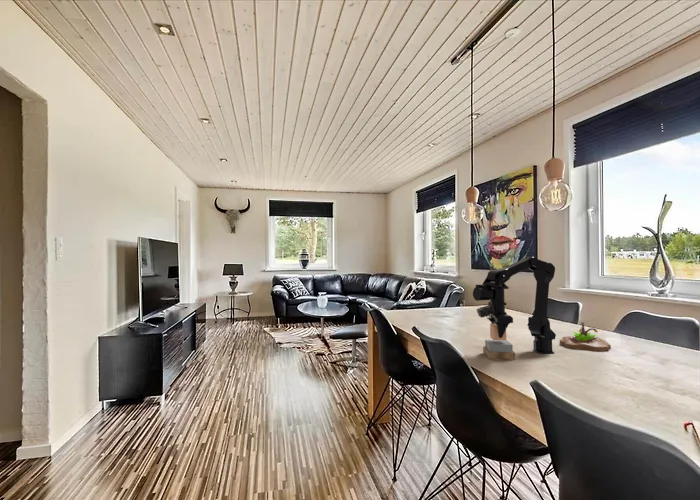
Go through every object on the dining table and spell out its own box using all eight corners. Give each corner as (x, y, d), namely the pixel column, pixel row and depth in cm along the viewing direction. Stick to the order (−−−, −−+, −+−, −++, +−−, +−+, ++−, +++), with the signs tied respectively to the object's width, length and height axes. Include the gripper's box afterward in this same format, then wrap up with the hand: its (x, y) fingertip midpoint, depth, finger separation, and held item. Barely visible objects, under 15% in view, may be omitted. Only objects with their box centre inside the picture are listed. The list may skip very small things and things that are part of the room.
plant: (608, 344, 171) (607, 320, 171) (612, 353, 154) (611, 327, 154) (560, 339, 181) (559, 317, 181) (559, 348, 164) (558, 324, 165)
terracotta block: (502, 337, 154) (501, 323, 154) (506, 340, 149) (506, 325, 149) (490, 337, 154) (490, 323, 154) (494, 340, 149) (493, 325, 149)
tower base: (506, 354, 156) (506, 346, 156) (515, 361, 146) (515, 352, 146) (483, 354, 157) (483, 346, 157) (490, 360, 147) (490, 352, 147)
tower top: (506, 346, 155) (506, 340, 155) (512, 352, 146) (512, 345, 146) (485, 346, 156) (485, 339, 156) (489, 351, 148) (489, 344, 148)
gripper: (472, 297, 162) (473, 331, 161) (484, 302, 143) (485, 341, 143) (497, 297, 161) (498, 331, 160) (513, 302, 142) (514, 341, 142)
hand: (498, 336), depth 151 cm, fingers closed on terracotta block, 5 cm apart
